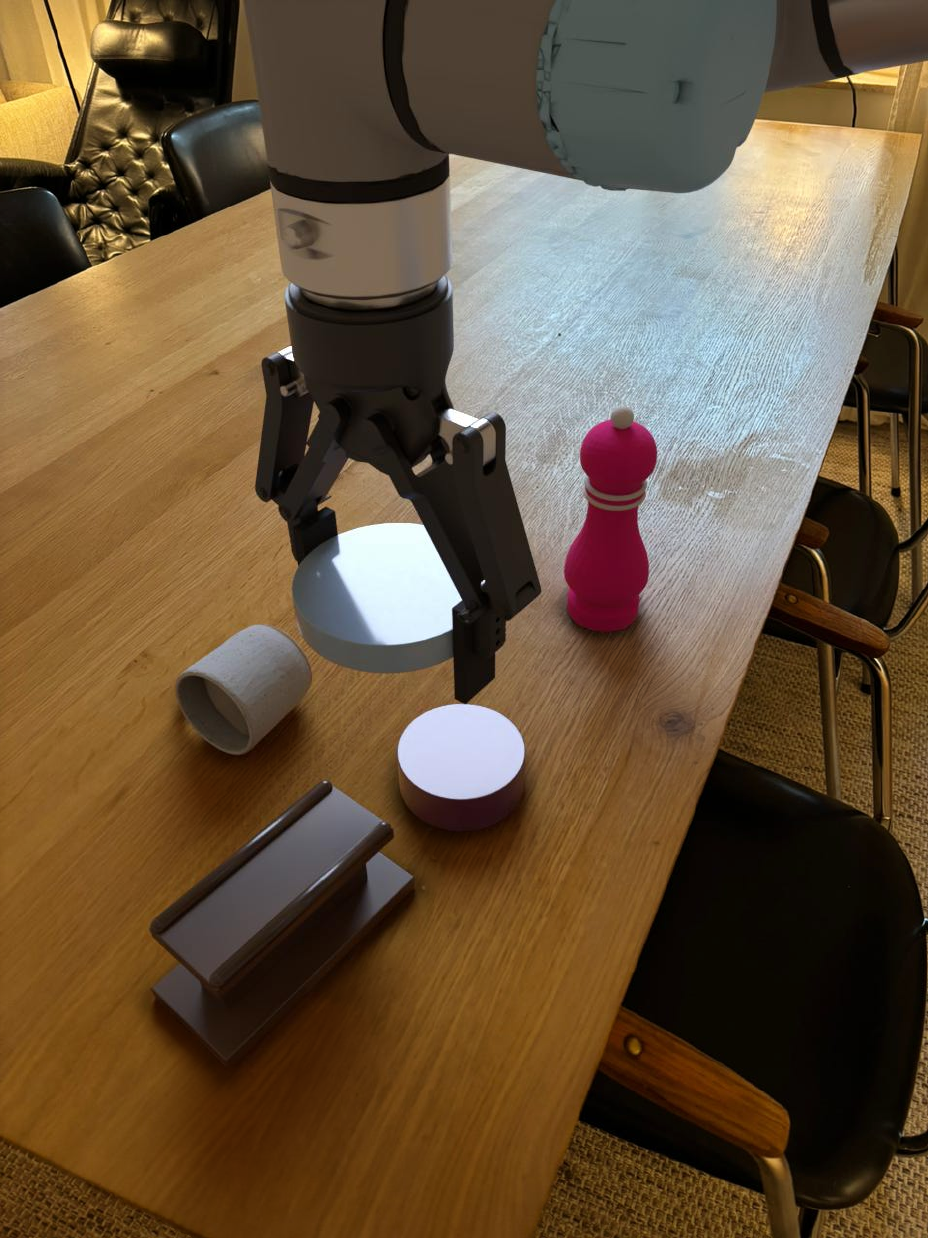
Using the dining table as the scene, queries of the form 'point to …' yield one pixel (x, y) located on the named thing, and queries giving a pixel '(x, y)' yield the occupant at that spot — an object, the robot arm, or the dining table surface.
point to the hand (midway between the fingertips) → (396, 645)
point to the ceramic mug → (244, 687)
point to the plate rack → (276, 919)
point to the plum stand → (461, 767)
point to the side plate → (377, 600)
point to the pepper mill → (611, 525)
